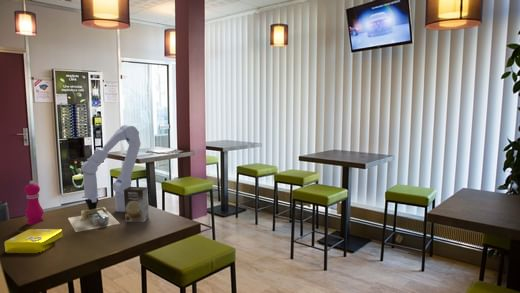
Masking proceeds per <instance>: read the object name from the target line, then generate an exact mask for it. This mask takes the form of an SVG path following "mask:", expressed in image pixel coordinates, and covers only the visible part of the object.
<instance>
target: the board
mask: <svg viewBox="0 0 520 293" xmlns="http://www.w3.org/2000/svg"><path fill="white" fill-rule="evenodd" d="M107 216H108V217H109V223H107V224H108V225H107V226H103V227H101V226H100V224H99V225H94V224H93V223H92V222H91V221H90V220H89V219H88V218H85V220H84V221H83V219H82V217H81V215H77V216H72V217H68V218H67V219H68V221H69V223H70V224H71V226H72V229H73V230H74V232H75V233H79V232H84V231H89V230H94V229H100V228H105V227H110V226H115V225H120V224H121V223H120V222H119V221H118V220H117V219H116V218H115V217H114V216H113V215H112V213H110V212H109V211H108V210H107Z"/></svg>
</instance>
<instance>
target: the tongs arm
mask: <svg viewBox="0 0 520 293" xmlns="http://www.w3.org/2000/svg"><path fill="white" fill-rule="evenodd" d="M88 219H89V220H90V221H91V222H92V223H93V224H94V225H99V224H100V223H99V215H98V214H95V213H94V212H93V211H92V212H88Z"/></svg>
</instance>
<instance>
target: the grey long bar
mask: <svg viewBox="0 0 520 293" xmlns="http://www.w3.org/2000/svg"><path fill="white" fill-rule="evenodd" d="M97 214H98V215H99V223H100V226H101V227H100V228H104V227H103V226H105V227H108V226H107V225H108V224H107V223H109V217H108V216H107V215H106V214H105V213H104V212H103V210H100V211H97Z"/></svg>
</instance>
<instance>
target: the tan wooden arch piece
mask: <svg viewBox="0 0 520 293" xmlns="http://www.w3.org/2000/svg"><path fill="white" fill-rule="evenodd" d="M100 210H103V212H104V213H105V214H106V215H107V211H108V210H107V208H106V207H105V206H103V207H96V208H95V209H84V210H80V216H81V217H82V219H83V221H84V220H85V218H88V212H92V211H93V212H94V213H95V214H97V211H100Z"/></svg>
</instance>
